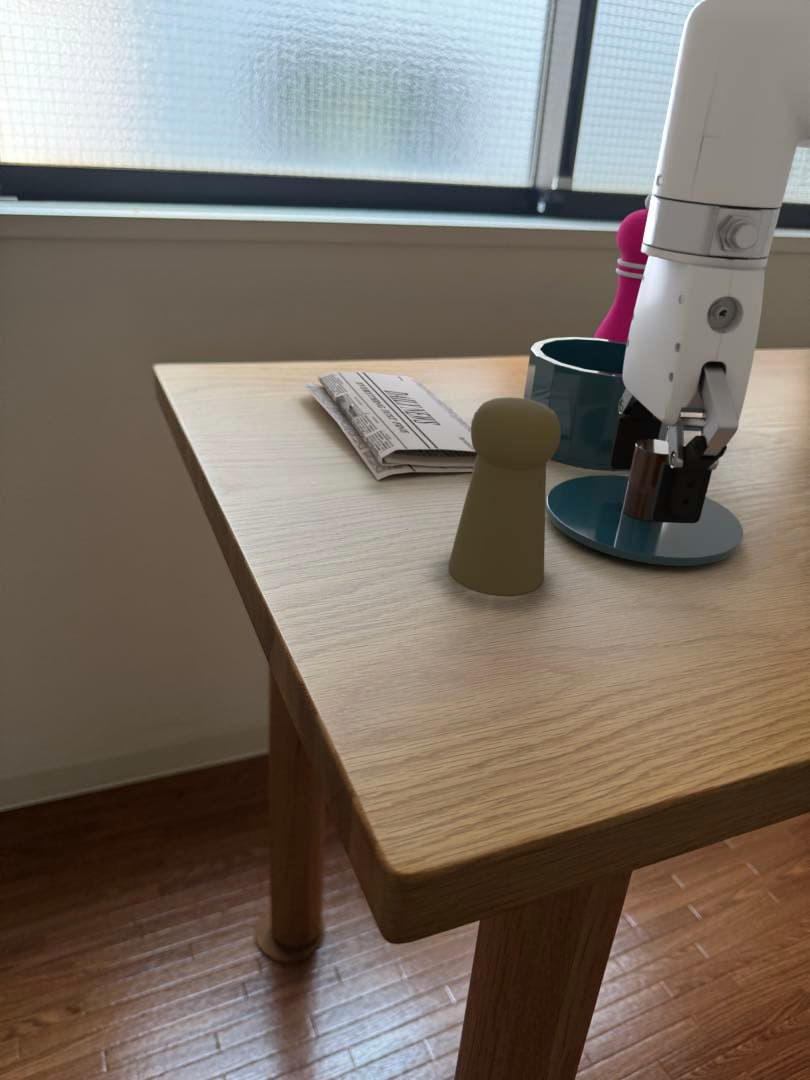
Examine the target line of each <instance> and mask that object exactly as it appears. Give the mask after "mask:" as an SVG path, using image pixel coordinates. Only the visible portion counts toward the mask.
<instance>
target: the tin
mask: <svg viewBox="0 0 810 1080" xmlns="http://www.w3.org/2000/svg"><path fill="white" fill-rule="evenodd" d="M626 346H627V343H626V342H620V341H613V340H606V339H599V338H594V337H582V336H581V337H580V336H568V337H551V338H547V339H543V340H540V341H536V342H535V343H534V344H532V346H531V348H530V352H529V358H528V366H527V373H526V380H525V387H524V394H523V399H528V400H533V401H536V402H540V403H542V404H544V405H546V406H548V407H549V408H550V409H551V410H553V411H554V412H555V413H556V416H557V418H558V420H559V423H560V429H561V437H560V442H559V445H558V447H557V450H556V452H555V454H554V455H553V457H552V458H551V459H550V460H553V461H556V462H559V463H561V464H565V465H570V466H574V467H578V468H584V469H592V470H600V471H627V470H626V469H613V468H612V467H611V466H610V464H609V460H610V455H611V450H612V444H613V439H614V434H615V429H616V424H617V419H618V416H625V415H621V414H619V411H618V405H619V401H620V399H621V397H622V395H623V393H624V390H623V385H622V380H623V365H624V358H625V352H626ZM653 417H656V416H653ZM667 437H668V426H667V425H666V424H664V423H663V422H662V424H661V429H660V433H659V438H658V440H662V441H666V440H667Z"/></svg>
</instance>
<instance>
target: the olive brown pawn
mask: <svg viewBox="0 0 810 1080" xmlns="http://www.w3.org/2000/svg"><path fill="white" fill-rule="evenodd" d="M470 427H471V439H472V446H473V448H474V450H475V451H476V453H477V457H476V461H475V465H474V469H473V472H471V477H470V480H469V484H468V488H467V492H466V496H465V500H464V503H463V507H462V511H461V514H460V519H459V522H458V527H457V529H456V534H455V536H454V542H453V546H452V549H451V552H450V557H449V560H448V572H449V573H450V575H451V576H452V578H453V579H455V581H457V582H458V583H459V584H460V585H462V586H464V587H467V588H469V589H472V590H474V591H475V592H481V593H484V594H488V595H496V596H517V595H518V596H519V595H523V594H527V593H530V592H533V591H535V590H536V589H538V588H539V587H541V585H542V583H543V581H544V579H545V548H546V547H545V545H546V544H545V543H546V542H545V541H546V539H545V538H546V534H545V533H546V501H547V497H546V493H547V463H548V462H549V461H550V460H552V459H551V458H552V457H553V455H554V454H555V452H556V450H557V447H558V445H559V442H560V437H561V429H560V423H559V420H558V418H557V416H556V413H555V412H554V411H553V410H551V409H550V408H549V407H548V406H546V405H544V404H542V403H540V402H536V401H533V400H528V399H524V397H523V398H522V397H509V396H508V397H497V398H493V399H489V400H487V401H485V402H483V403H482V404H481V405H479V407H478V408H477V410H476V411H475V412H474V415H473V417H472V419H471V424H470Z"/></svg>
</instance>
